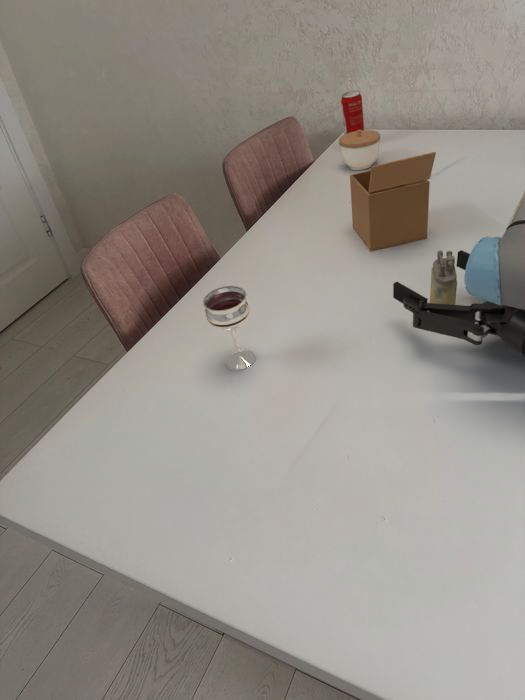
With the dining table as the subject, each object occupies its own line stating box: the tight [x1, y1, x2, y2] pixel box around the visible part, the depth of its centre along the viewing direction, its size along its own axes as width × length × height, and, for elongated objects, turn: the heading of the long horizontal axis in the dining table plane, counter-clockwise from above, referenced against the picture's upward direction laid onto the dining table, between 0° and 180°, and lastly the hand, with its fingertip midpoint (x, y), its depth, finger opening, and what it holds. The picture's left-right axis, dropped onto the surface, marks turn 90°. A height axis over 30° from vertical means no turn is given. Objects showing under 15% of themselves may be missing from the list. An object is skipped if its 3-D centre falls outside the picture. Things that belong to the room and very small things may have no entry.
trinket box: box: [338, 129, 381, 171], centre depth 133 cm, size 11×11×9 cm
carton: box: [349, 169, 431, 252], centre depth 101 cm, size 12×12×12 cm
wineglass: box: [202, 285, 256, 371], centre depth 77 cm, size 7×7×12 cm
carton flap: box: [369, 151, 437, 193], centre depth 90 cm, size 6×12×1 cm
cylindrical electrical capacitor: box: [428, 249, 458, 312], centre depth 78 cm, size 7×4×10 cm, turn 170°
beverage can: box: [340, 90, 365, 135], centre depth 144 cm, size 6×6×15 cm
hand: (427, 273), depth 80 cm, fingers open, 13 cm apart
